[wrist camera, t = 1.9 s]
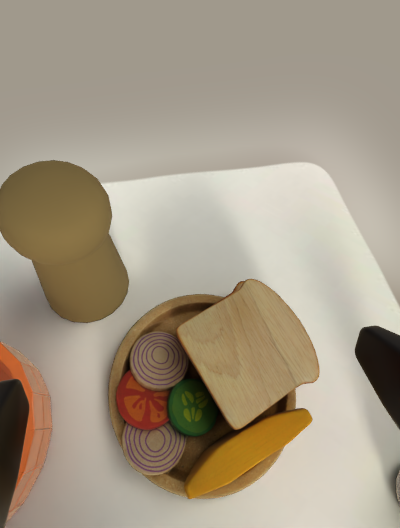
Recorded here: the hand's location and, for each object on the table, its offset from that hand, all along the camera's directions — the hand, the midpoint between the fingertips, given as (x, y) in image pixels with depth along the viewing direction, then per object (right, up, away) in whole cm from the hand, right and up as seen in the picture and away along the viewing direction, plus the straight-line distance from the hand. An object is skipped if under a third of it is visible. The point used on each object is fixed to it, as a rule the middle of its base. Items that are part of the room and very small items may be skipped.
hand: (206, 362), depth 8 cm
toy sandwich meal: (0, -5, +14) cm, 15 cm away
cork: (-9, +1, +16) cm, 18 cm away
